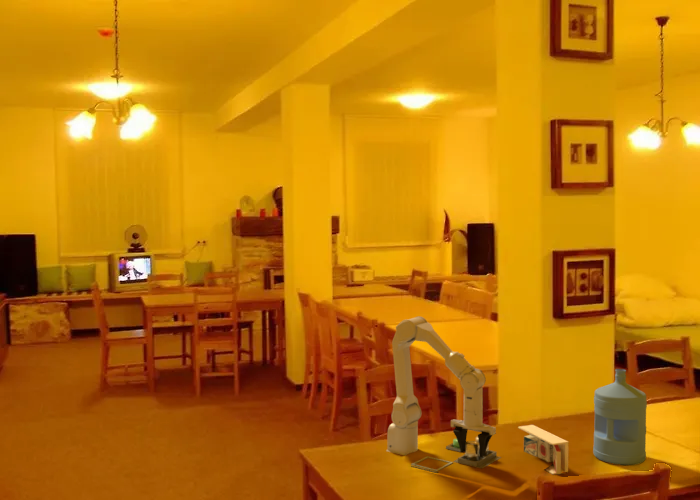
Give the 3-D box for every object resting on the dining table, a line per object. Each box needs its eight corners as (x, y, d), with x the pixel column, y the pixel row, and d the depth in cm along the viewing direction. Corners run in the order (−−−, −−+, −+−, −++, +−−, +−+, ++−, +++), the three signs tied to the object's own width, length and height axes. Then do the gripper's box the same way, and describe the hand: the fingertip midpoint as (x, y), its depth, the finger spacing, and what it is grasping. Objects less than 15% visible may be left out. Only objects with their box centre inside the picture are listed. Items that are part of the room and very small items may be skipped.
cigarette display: (517, 455, 237) (517, 426, 237) (532, 453, 239) (532, 424, 239) (554, 476, 219) (555, 445, 218) (570, 474, 221) (571, 442, 220)
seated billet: (473, 457, 232) (473, 438, 231) (479, 453, 235) (479, 435, 235) (484, 459, 229) (484, 440, 229) (490, 456, 232) (490, 437, 232)
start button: (451, 449, 240) (451, 440, 240) (456, 446, 243) (456, 437, 243) (460, 451, 238) (460, 442, 238) (466, 448, 241) (466, 439, 241)
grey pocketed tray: (452, 465, 228) (453, 457, 228) (472, 454, 238) (472, 446, 238) (482, 472, 222) (482, 463, 222) (501, 461, 232) (501, 452, 232)
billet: (462, 462, 227) (462, 442, 227) (470, 459, 230) (470, 440, 230) (473, 465, 224) (473, 445, 224) (481, 462, 227) (481, 442, 227)
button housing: (445, 452, 240) (446, 446, 240) (455, 447, 245) (455, 441, 245) (462, 456, 236) (462, 449, 236) (471, 451, 241) (471, 445, 241)
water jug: (607, 446, 246) (608, 362, 244) (654, 457, 235) (655, 369, 233) (584, 457, 235) (585, 370, 233) (632, 469, 224) (633, 377, 222)
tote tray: (411, 468, 225) (411, 464, 225) (427, 460, 232) (427, 456, 232) (437, 475, 219) (437, 470, 219) (452, 466, 227) (452, 462, 227)
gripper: (500, 410, 225) (500, 454, 226) (458, 403, 234) (458, 445, 235) (489, 416, 220) (489, 461, 220) (447, 408, 229) (447, 451, 229)
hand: (472, 453), depth 227 cm, fingers open, 6 cm apart
